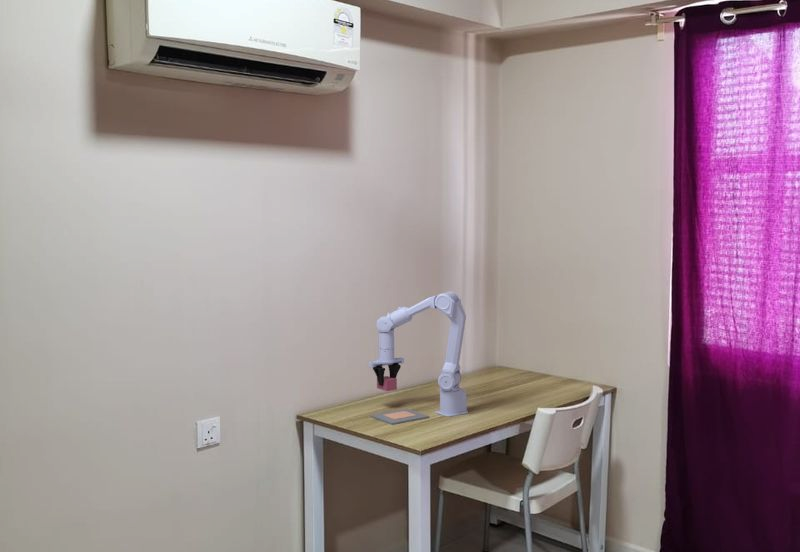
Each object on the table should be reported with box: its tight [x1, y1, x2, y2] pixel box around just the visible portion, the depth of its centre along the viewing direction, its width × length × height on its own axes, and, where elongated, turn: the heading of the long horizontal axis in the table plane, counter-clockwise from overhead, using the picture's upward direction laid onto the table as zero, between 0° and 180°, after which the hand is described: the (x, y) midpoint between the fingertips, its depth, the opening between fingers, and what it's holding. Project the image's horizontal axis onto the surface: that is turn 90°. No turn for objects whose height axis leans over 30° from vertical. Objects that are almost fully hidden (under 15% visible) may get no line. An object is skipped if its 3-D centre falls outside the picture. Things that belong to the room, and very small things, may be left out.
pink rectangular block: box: [376, 375, 398, 392], centre depth 298 cm, size 4×6×4 cm
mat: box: [369, 408, 430, 426], centre depth 285 cm, size 16×14×1 cm
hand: (386, 384), depth 298 cm, fingers closed on pink rectangular block, 4 cm apart
